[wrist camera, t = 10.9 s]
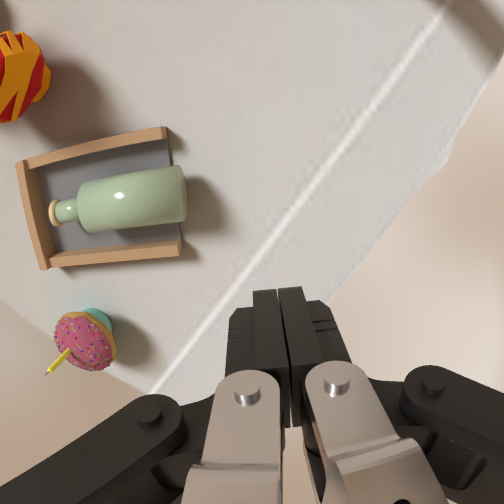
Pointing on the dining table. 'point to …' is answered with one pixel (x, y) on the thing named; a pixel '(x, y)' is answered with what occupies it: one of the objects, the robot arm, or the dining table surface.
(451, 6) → the dining table surface
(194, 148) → the dining table surface
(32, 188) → the wooden shallow tray
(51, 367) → the cupcake
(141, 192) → the bottle
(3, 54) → the potion bottle
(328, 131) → the dining table surface
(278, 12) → the dining table surface
